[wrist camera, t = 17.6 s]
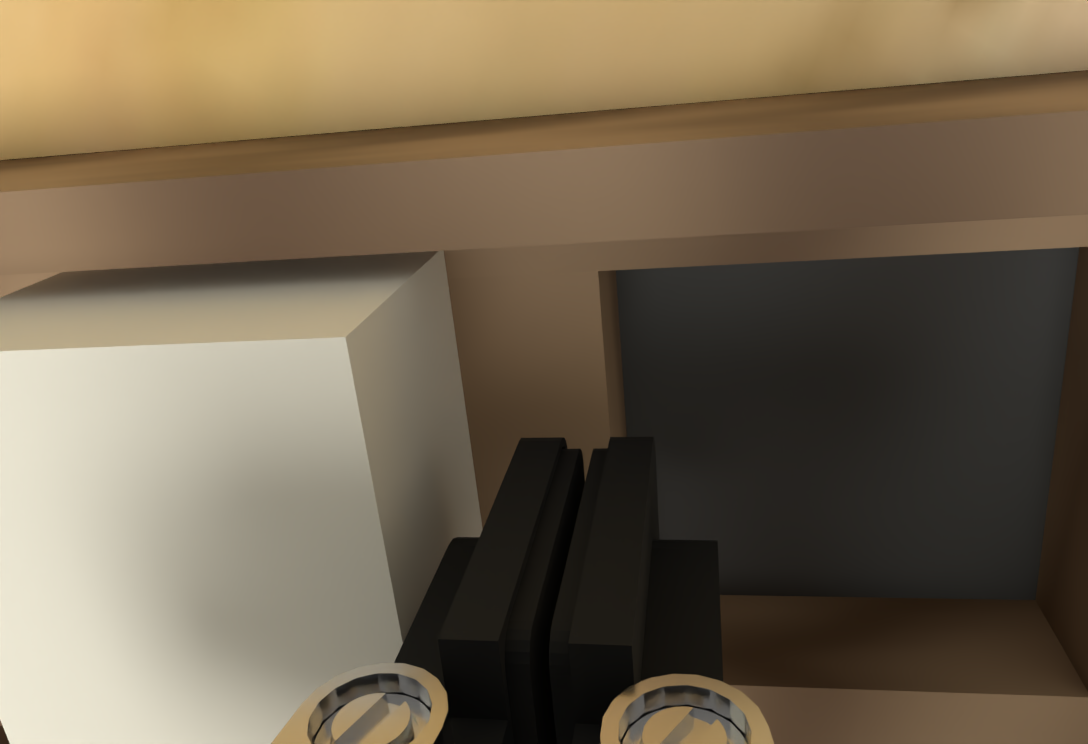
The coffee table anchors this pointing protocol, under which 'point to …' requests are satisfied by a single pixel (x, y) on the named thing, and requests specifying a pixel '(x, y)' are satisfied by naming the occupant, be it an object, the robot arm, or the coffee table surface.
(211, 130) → the coffee table surface
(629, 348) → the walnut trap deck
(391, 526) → the ivory block
